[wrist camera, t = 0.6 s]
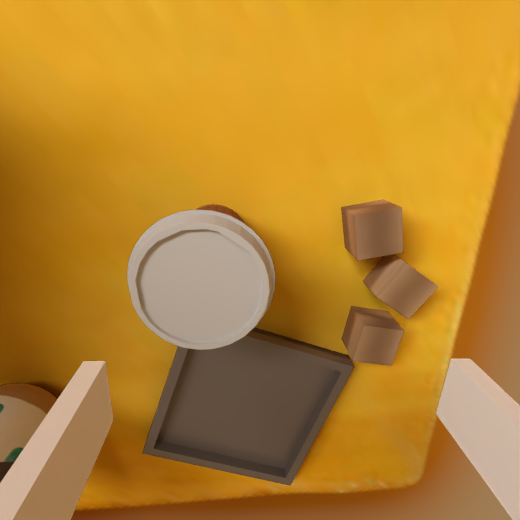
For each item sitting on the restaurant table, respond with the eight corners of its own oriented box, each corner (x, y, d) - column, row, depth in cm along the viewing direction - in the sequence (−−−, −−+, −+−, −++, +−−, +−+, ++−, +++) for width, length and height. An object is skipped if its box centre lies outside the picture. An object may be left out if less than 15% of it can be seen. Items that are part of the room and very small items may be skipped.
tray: (147, 438, 40) (142, 453, 38) (190, 308, 34) (187, 318, 33) (288, 470, 43) (290, 485, 41) (348, 355, 37) (354, 366, 35)
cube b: (362, 280, 34) (377, 297, 31) (388, 249, 34) (407, 263, 30) (390, 300, 35) (408, 319, 32) (417, 270, 34) (438, 286, 31)
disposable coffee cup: (280, 259, 33) (300, 321, 22) (193, 298, 34) (170, 376, 23) (238, 168, 30) (236, 186, 19) (144, 213, 31) (88, 255, 20)
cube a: (341, 338, 37) (352, 361, 33) (351, 305, 35) (364, 325, 32) (376, 342, 37) (391, 365, 33) (387, 310, 36) (404, 330, 32)
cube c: (344, 246, 33) (357, 260, 29) (340, 207, 32) (354, 216, 28) (384, 239, 33) (403, 252, 29) (382, 199, 32) (401, 207, 28)
